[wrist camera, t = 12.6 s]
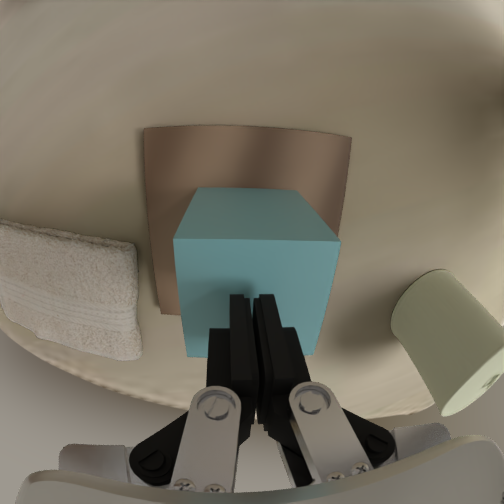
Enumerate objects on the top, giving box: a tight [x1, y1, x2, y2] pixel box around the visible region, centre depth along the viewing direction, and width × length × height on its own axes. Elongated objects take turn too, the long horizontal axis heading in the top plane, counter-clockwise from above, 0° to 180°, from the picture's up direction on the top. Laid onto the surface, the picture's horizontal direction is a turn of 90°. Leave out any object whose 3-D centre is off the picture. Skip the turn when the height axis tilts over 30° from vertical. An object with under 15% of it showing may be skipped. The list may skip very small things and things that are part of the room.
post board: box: [144, 126, 352, 315], centre depth 16 cm, size 13×14×8 cm
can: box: [391, 269, 504, 416], centre depth 19 cm, size 9×9×12 cm
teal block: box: [173, 187, 341, 358], centre depth 15 cm, size 6×6×8 cm
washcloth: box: [0, 219, 143, 361], centre depth 19 cm, size 12×18×3 cm, turn 78°
